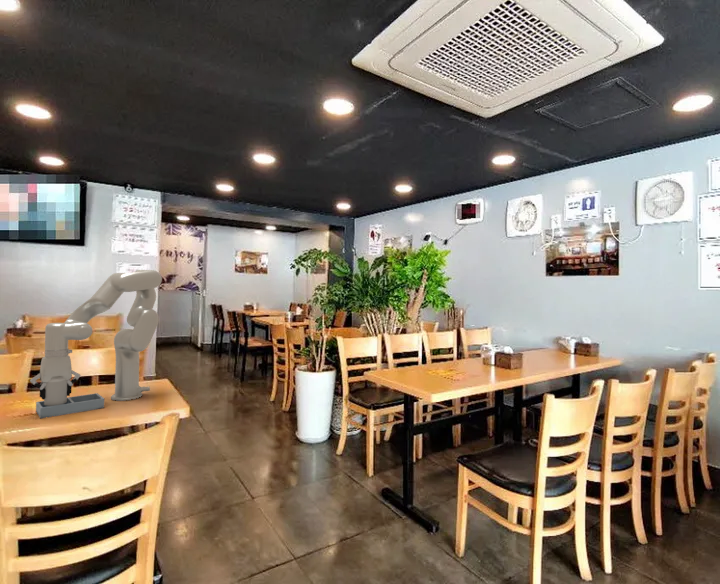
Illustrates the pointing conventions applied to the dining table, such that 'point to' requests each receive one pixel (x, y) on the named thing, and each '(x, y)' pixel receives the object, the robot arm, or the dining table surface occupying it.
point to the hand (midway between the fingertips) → (55, 396)
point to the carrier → (71, 405)
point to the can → (55, 391)
